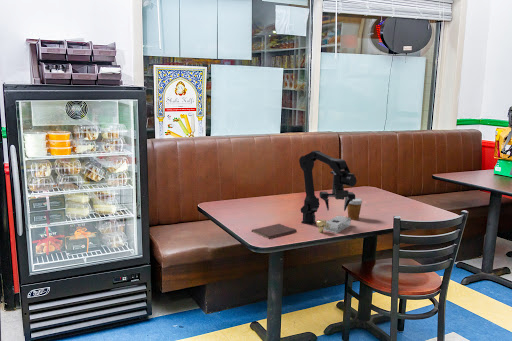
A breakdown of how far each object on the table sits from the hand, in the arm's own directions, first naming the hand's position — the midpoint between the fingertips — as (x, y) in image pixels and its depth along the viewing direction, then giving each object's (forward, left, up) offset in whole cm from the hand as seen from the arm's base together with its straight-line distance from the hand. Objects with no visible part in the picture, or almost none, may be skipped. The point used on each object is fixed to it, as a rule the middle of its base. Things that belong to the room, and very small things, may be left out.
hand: (336, 210), depth 263 cm
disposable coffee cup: (-2, +31, -12) cm, 33 cm away
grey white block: (-2, +8, -12) cm, 14 cm away
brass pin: (-6, -5, -12) cm, 15 cm away
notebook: (-27, -20, -13) cm, 36 cm away
